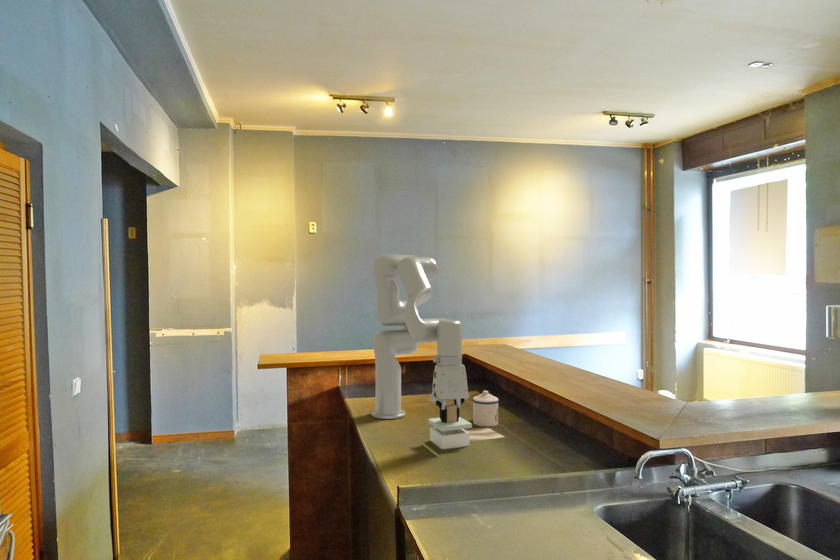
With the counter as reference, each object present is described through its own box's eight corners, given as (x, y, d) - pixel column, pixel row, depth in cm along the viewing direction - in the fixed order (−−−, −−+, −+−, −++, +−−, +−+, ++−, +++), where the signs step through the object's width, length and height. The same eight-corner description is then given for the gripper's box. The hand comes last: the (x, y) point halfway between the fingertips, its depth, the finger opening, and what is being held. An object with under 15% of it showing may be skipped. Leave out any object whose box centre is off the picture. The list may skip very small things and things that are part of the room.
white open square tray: (430, 442, 159) (430, 428, 159) (456, 439, 163) (456, 424, 163) (442, 451, 151) (442, 436, 151) (469, 447, 154) (469, 432, 154)
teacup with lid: (501, 428, 175) (501, 393, 175) (475, 428, 174) (475, 394, 174) (493, 418, 187) (493, 386, 187) (468, 419, 186) (468, 386, 186)
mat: (454, 432, 170) (454, 430, 170) (486, 428, 174) (486, 426, 174) (471, 443, 159) (471, 441, 159) (505, 438, 163) (505, 437, 163)
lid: (428, 422, 160) (428, 402, 160) (457, 419, 163) (457, 399, 163) (441, 431, 150) (441, 410, 150) (471, 427, 154) (471, 407, 154)
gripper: (429, 364, 150) (429, 427, 150) (479, 361, 156) (479, 421, 156) (419, 360, 157) (420, 420, 157) (468, 357, 163) (468, 415, 163)
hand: (449, 420), depth 157 cm, fingers closed on lid, 3 cm apart
